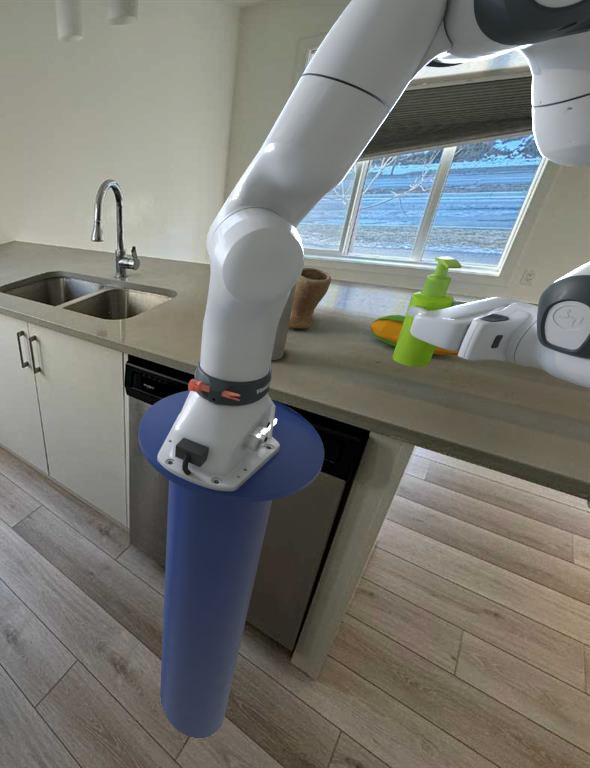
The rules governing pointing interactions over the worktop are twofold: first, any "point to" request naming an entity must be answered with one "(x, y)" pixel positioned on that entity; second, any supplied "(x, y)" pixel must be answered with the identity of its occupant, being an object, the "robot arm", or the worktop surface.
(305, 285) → the stone cup
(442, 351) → the corn
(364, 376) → the worktop surface
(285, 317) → the thermos bottle
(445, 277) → the soap dispenser
